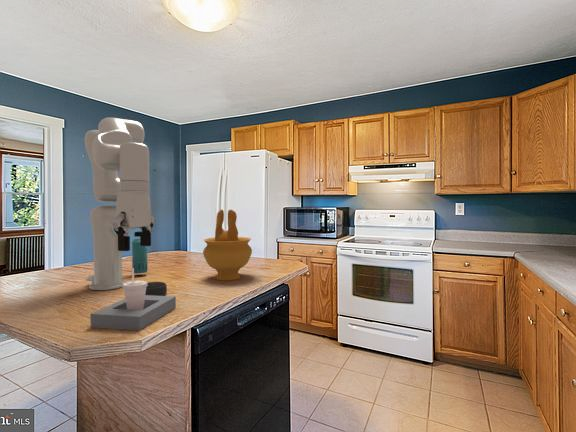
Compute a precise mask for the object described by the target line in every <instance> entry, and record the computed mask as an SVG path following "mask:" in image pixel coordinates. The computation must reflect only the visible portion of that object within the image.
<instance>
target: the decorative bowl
mask: <svg viewBox="0 0 576 432" xmlns="http://www.w3.org/2000/svg"><path fill="white" fill-rule="evenodd" d="M237 216H238V215H237V213H236V211H234V210H233V209H228V210H227V230H225V229H224V228H223V223H224V219H225V213H224V209H220V210H218V212H217V213H216V218H215V219H216V223H215V232H214V237H210V238H204V239H203V241H204V242H205V243H206V246H205V247H204V248H203V250H202V255H203V257H204V259H205V262H206V263H207V265H208V266H209V267H211V268H212V269H214V270H215V271H216V272H217V274H216V277H215V279H216V280H219V281H234V280H238V279H240V278H241V276H240V273H239V271H240V270H241V269H242V268H243V267H245V266H246V265H248V262H249V260H250V258H251V256H252V253H253V249H252V246H250V245H249V242H250V241H251V240H252V238H251V237H244V236H239V230H238V227H237V218H238V217H237Z"/></svg>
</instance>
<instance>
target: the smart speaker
mask: <svg viewBox="0 0 576 432" xmlns="http://www.w3.org/2000/svg"><path fill="white" fill-rule="evenodd" d="M147 285H148V286H147V287H146V293H145V295H153V296H166V294H167V291H168V290H167V289H168V287H167V283H165V282H162V281H151V282H147Z"/></svg>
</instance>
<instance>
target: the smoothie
mask: <svg viewBox="0 0 576 432" xmlns="http://www.w3.org/2000/svg"><path fill="white" fill-rule="evenodd" d="M147 283H148V281H146V280H135V274H134V268H132V267H131V281H128V282H127V281H126V283H124V284H123V287H122V289H123V291H124V299H126V305H127V310H143V309H144V302H145V293H146V287H147V286H148V285H147Z"/></svg>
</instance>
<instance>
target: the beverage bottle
mask: <svg viewBox="0 0 576 432" xmlns="http://www.w3.org/2000/svg"><path fill="white" fill-rule="evenodd" d="M140 232H142V231H141V230H140V231H135V232H134V234H133V236H134V237H139V238H135V239H133V240H132V241H131V252H132V253H131V260H132V261H131V262H132V263H131V266H132V267H131V269H132V268H134V275H135V274H136V275H138V274H139V275H140V274H147V273H148V263H149V261H148V260H149V259H148V246H141V245H140Z"/></svg>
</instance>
